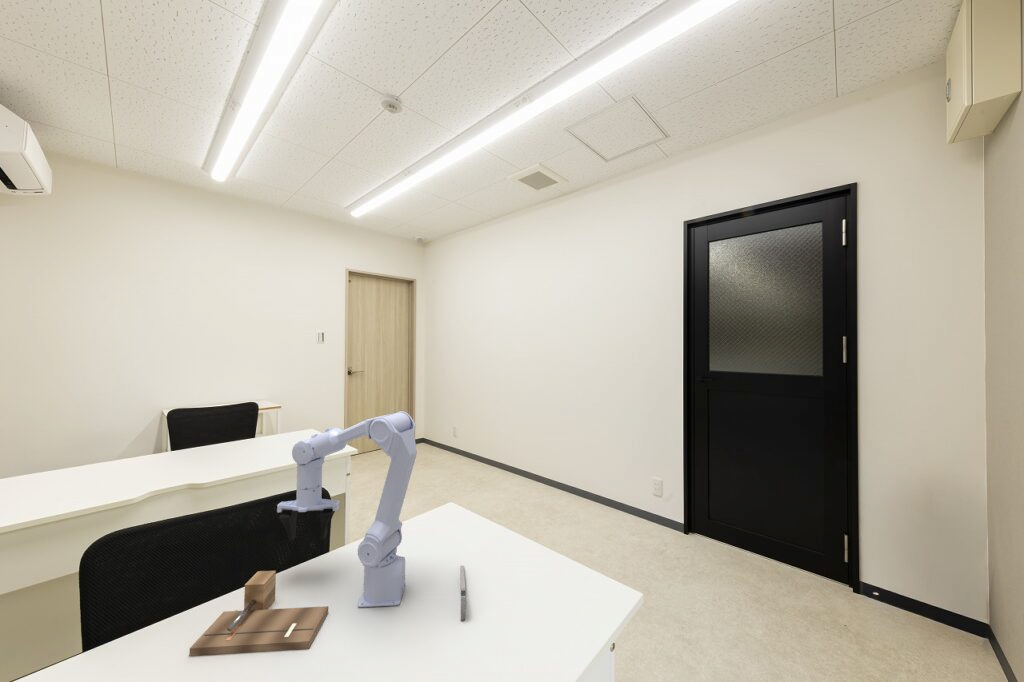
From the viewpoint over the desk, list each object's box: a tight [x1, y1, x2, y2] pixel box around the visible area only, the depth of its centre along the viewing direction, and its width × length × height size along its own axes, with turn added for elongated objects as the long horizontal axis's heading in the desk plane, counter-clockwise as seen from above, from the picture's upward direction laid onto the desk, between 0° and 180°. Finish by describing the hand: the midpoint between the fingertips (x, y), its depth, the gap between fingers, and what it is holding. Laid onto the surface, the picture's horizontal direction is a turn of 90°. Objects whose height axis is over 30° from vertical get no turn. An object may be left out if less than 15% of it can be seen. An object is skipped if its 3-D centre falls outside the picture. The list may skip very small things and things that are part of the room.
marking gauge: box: [227, 570, 277, 635], centre depth 82 cm, size 4×13×7 cm, turn 5°
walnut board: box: [188, 605, 329, 657], centre depth 78 cm, size 22×10×2 cm, turn 96°
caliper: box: [459, 565, 466, 621], centre depth 93 cm, size 20×1×6 cm, turn 8°
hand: (308, 538), depth 97 cm, fingers open, 7 cm apart
